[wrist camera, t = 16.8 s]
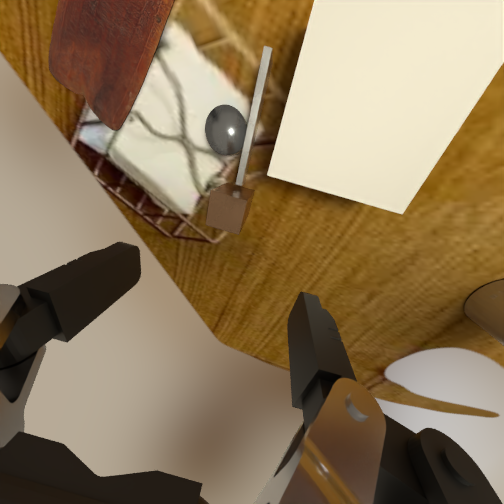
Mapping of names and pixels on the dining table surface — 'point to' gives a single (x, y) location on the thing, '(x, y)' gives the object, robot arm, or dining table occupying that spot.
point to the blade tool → (230, 195)
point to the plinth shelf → (384, 93)
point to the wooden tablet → (106, 51)
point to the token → (226, 130)
